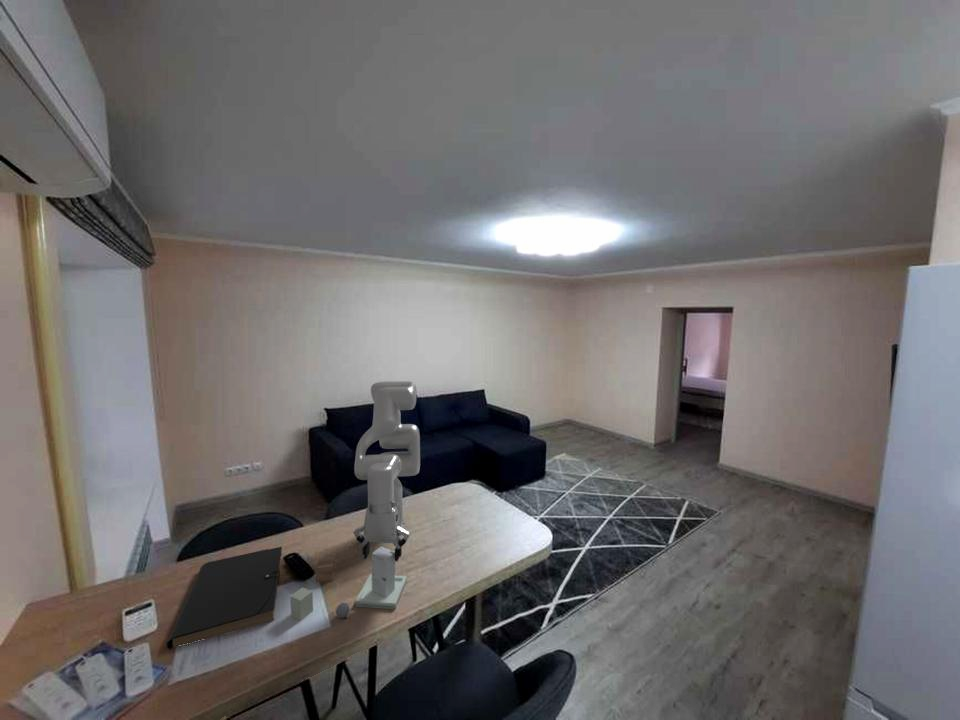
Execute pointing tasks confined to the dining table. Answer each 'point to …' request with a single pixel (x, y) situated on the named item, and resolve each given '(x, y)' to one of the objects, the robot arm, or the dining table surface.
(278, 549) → the file folder
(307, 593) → the sage block
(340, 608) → the grey ball
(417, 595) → the dining table surface
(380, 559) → the skincare box
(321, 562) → the walnut cube
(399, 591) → the tray
